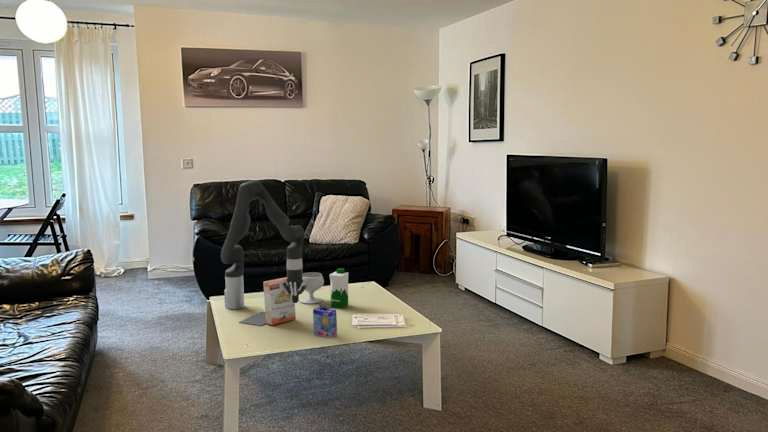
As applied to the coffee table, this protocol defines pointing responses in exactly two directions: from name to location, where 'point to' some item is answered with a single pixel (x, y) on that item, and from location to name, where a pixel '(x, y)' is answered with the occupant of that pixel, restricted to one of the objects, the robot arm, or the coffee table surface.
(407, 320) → the coffee table surface
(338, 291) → the milk carton
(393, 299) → the coffee table surface
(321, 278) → the chalice
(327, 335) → the ink cartridge box
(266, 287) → the cracker box
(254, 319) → the mat
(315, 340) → the coffee table surface
